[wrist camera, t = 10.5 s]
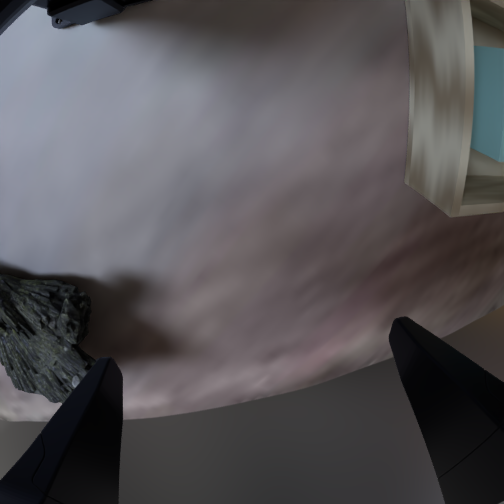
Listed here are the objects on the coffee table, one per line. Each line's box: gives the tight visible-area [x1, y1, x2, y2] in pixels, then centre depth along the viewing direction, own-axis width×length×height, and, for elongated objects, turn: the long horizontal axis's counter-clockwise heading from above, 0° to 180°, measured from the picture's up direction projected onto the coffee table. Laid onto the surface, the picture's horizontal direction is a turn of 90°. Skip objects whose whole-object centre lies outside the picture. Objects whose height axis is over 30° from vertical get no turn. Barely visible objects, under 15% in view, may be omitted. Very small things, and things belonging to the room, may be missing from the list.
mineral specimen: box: [0, 275, 98, 404], centre depth 19 cm, size 15×13×10 cm
